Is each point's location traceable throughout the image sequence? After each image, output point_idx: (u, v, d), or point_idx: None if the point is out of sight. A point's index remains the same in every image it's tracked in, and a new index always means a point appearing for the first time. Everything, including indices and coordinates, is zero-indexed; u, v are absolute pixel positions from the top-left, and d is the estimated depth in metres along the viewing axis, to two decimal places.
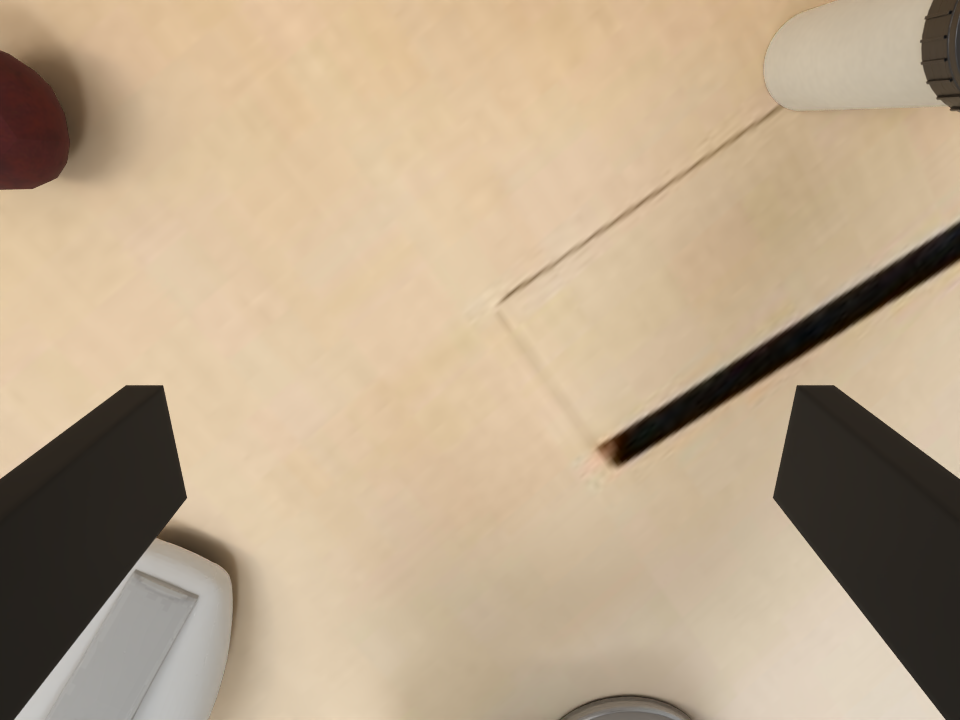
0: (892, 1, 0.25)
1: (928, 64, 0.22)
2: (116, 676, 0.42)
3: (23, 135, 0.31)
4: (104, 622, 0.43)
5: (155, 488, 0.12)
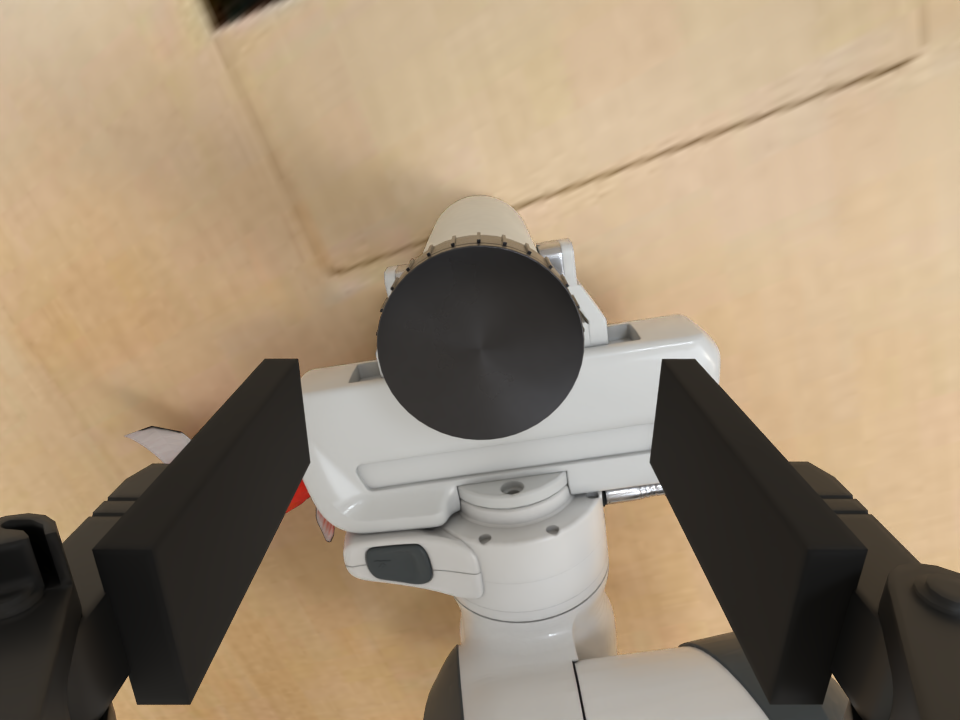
0: None
1: None
2: None
3: None
4: None
5: (294, 450, 0.13)
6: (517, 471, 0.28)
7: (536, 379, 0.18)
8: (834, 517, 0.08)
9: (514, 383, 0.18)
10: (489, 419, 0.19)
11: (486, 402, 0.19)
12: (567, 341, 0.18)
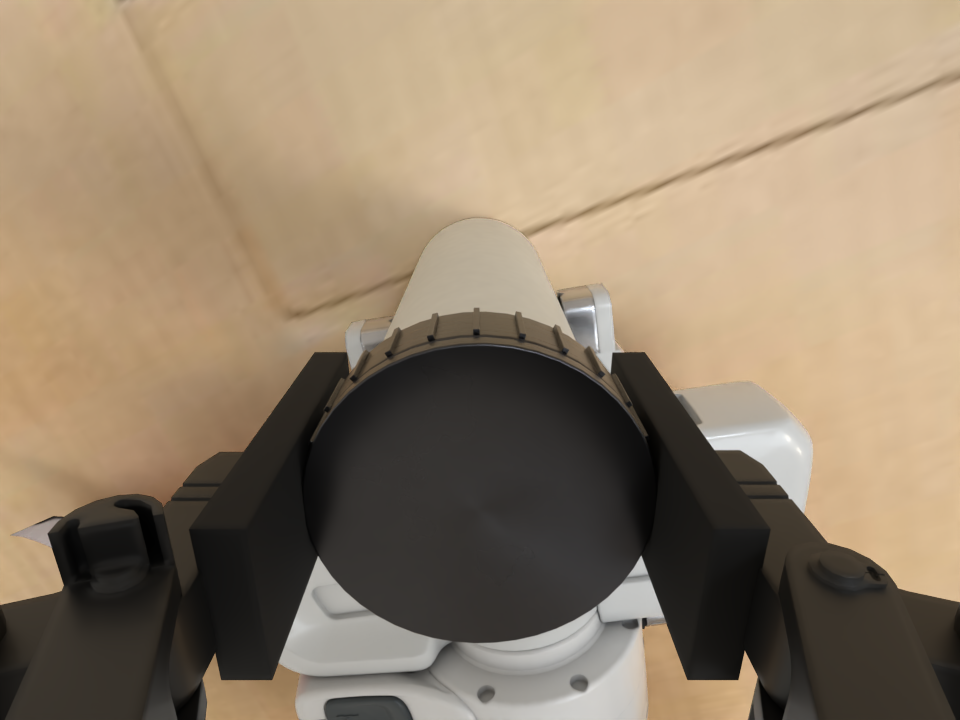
0: None
1: None
2: None
3: None
4: None
5: None
6: None
7: (573, 555, 0.11)
8: (745, 499, 0.09)
9: (536, 561, 0.11)
10: (494, 614, 0.11)
11: (489, 589, 0.11)
12: (628, 498, 0.10)
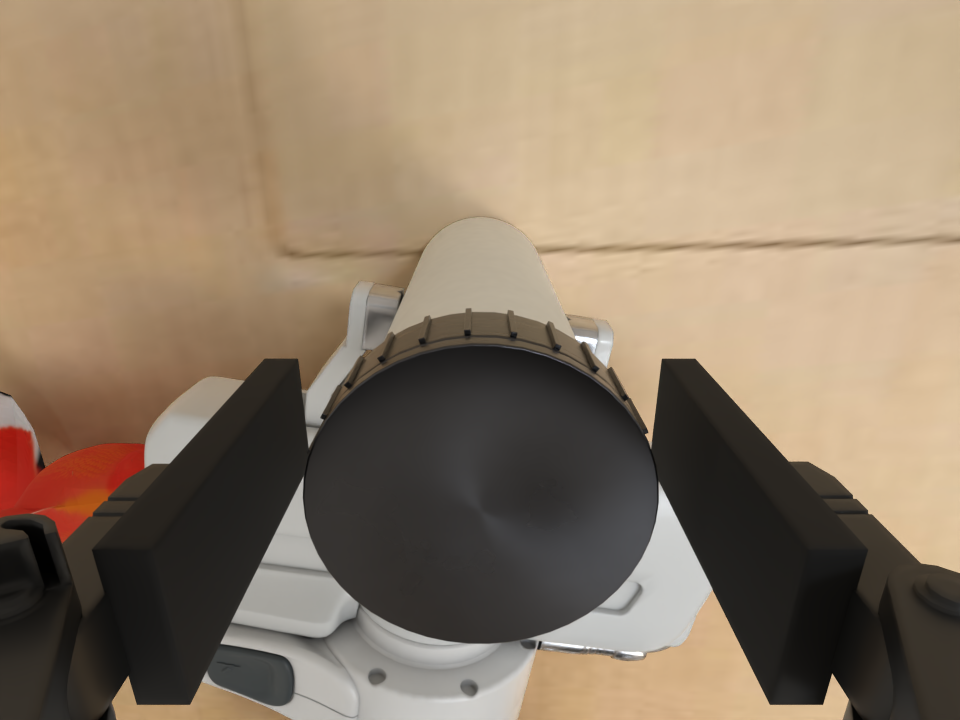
0: None
1: (503, 321, 0.11)
2: None
3: None
4: None
5: (294, 450, 0.13)
6: None
7: (568, 444, 0.10)
8: (834, 517, 0.08)
9: (561, 479, 0.10)
10: (611, 532, 0.11)
11: (578, 528, 0.11)
12: (515, 377, 0.10)
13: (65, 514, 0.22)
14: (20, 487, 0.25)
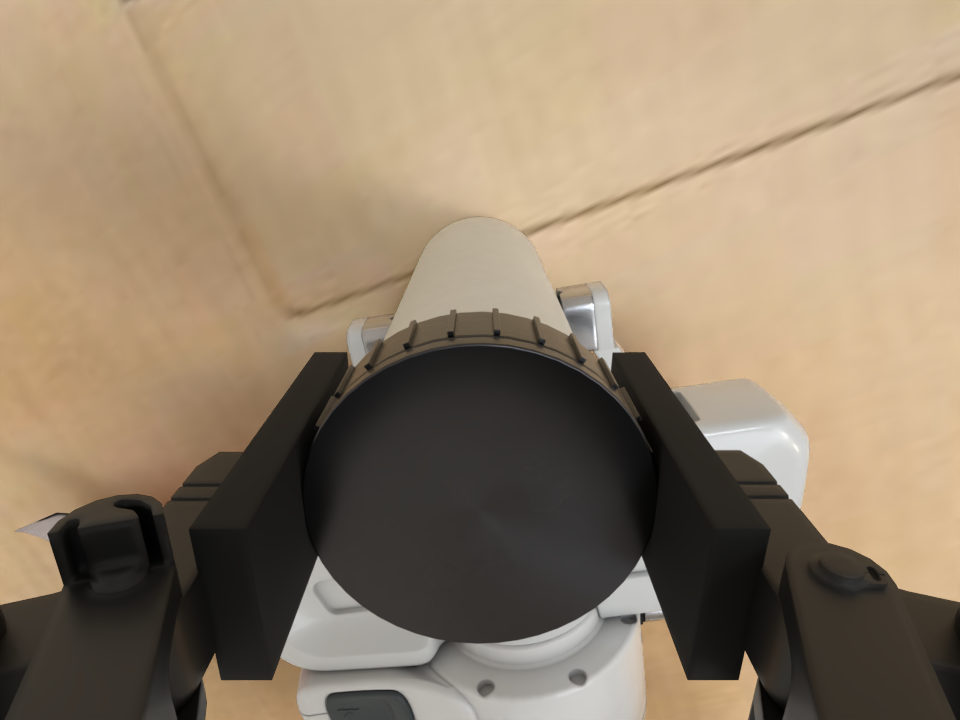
0: None
1: None
2: None
3: None
4: None
5: None
6: None
7: (538, 422, 0.10)
8: (745, 499, 0.09)
9: (545, 458, 0.10)
10: (615, 495, 0.10)
11: (581, 500, 0.10)
12: (462, 374, 0.10)
13: None
14: None
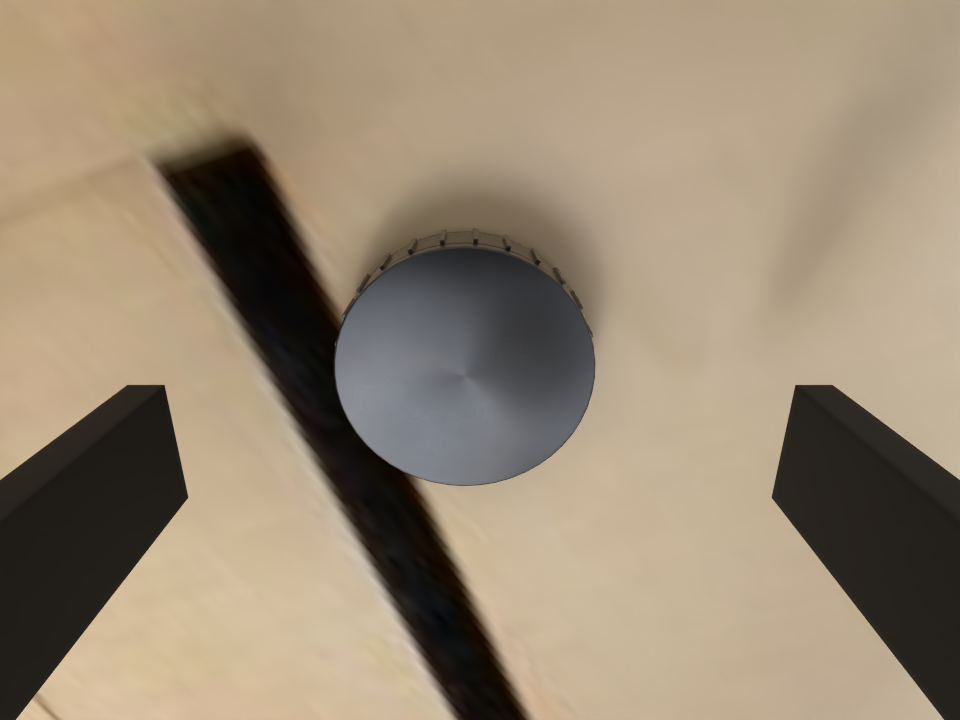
0: None
1: None
2: None
3: None
4: None
5: (156, 488, 0.12)
6: None
7: (506, 307, 0.14)
8: None
9: (512, 334, 0.14)
10: (564, 363, 0.14)
11: (539, 368, 0.14)
12: (450, 270, 0.13)
13: None
14: None
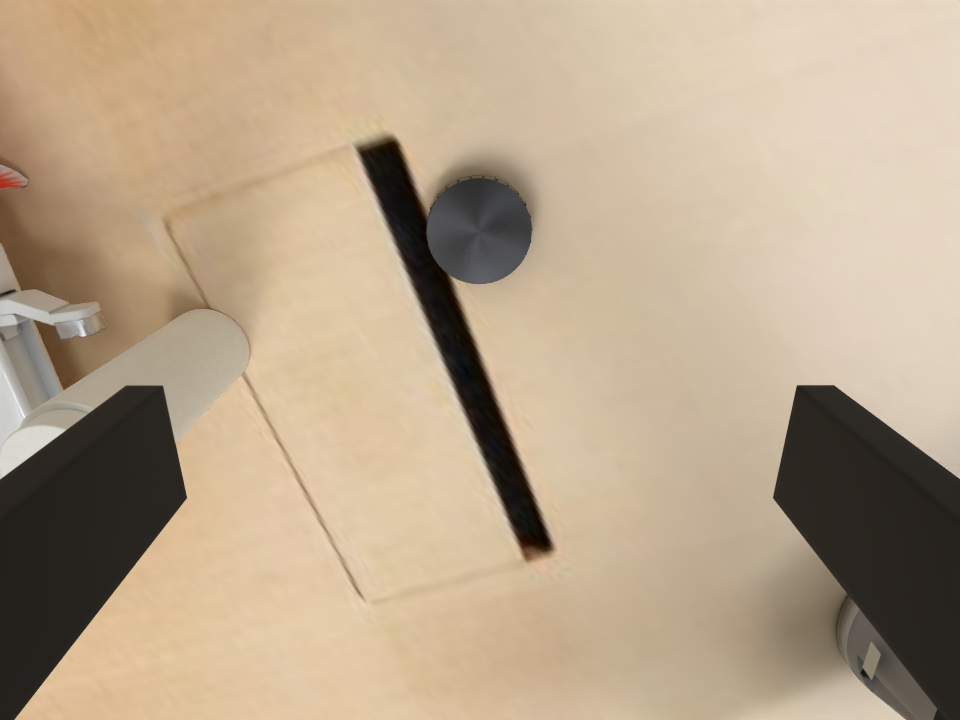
0: None
1: None
2: None
3: None
4: None
5: (155, 488, 0.12)
6: None
7: (495, 202, 0.35)
8: None
9: (497, 214, 0.35)
10: (518, 227, 0.35)
11: (508, 229, 0.35)
12: (473, 187, 0.34)
13: None
14: None
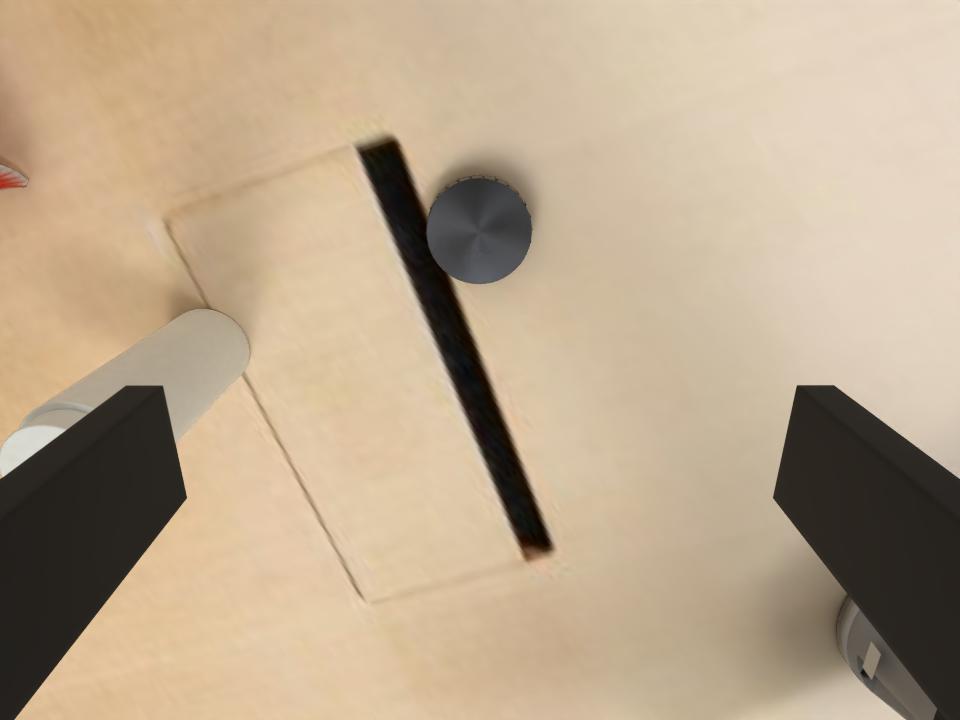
0: None
1: None
2: None
3: None
4: None
5: (155, 488, 0.12)
6: None
7: (495, 202, 0.35)
8: None
9: (497, 214, 0.35)
10: (518, 227, 0.35)
11: (508, 229, 0.35)
12: (473, 187, 0.34)
13: None
14: None
